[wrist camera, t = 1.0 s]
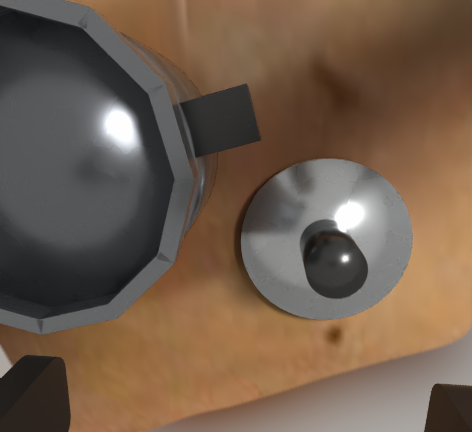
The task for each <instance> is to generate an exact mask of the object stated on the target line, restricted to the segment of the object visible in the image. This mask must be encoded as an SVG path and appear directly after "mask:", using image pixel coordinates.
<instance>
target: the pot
mask: <svg viewBox="0 0 472 432" xmlns="http://www.w3.org/2000/svg"><path fill="white" fill-rule="evenodd" d="M260 140H261V135H260V131H259V127H258V123H257V119H256V115H255V111H254V107H253V103H252V99H251V95H250V91H249V87H248V85H247V84H244V85H240V86H237V87H233V88H230V89H226V90H223V91H219V92H216V93H213V94H209V95H206V96H201V94H200V93H199V91H198V90H197V88H196V87H195V85H194V84H193V83H192V82H191V80H190V79H189V78H188V77H187V76H186V75H185V73H184V72H182V71H181V70H180V69H179V68H178V67H177V66H176V65H175V64H174V63H172V62H171V61H169V60H168V59H166V58H165V57H164V56H162V55H161V54H159V53H157V52H155V51H153V50H152V49H150V48H148V47H146V46H144V45H143V44H141V43H139V42H137V41H135V40H134V39H132V38H130V37H128V36H126V35H125V34H123V33H121V32H119V31H118V30H117V29H116V28H115V27H114V26H113V25H112V24H111V23H110V22H109V21H108V20H107V19H106V18H105V17H104V16H103V15H102V14H100V13H99V12H97V11H95V10H94V9H92V8H90V7H88V6H84V5H80V4H77V3H73V2H69V1H66V0H0V323H1V324H4V325H8V326H11V327H15V328H19V329H22V330H26V331H30V332H33V333H37V334H40V335H43V334H48V333H53V332H57V331H62V330H66V329H71V328H76V327H80V326H85V325H89V324H94V323H99V322H103V321H108V320H112V319H117V318H118V317H119V316H120V315H121V314H123V313H124V312H125V311H126V310H127V309H128V308H129V307H130V306H131V305H132V304H133V303H134V302H135V301H136V300H137V299H138V298H139V297H140V296H141V295H142V294H143V293H144V292H145V291H146V290H147V289H148V288H149V287H150V286H151V285H152V284H154V283H155V282H156V281H157V280H158V279H159V278H160V277H161V276H162V275H163V274H164V273H165V272H166V271H167V270H168V269H169V268H170V267H171V266H172V265H173V264H174V263H175V261H176V259H177V258H178V256H179V254H180V250H181V246H182V241H183V238H184V237H185V235H186V234H187V232H188V231H189V229H190V227H191V226H192V224H193V223H194V221H195V220H196V218H197V217H198V215H199V214H200V212H201V211H202V209H203V207H204V206H205V204H206V202H207V200H208V198H209V196H210V194H211V191H212V188H213V185H214V182H215V177H216V172H217V165H218V152H219V151H223V150H227V149H231V148H234V147H238V146H242V145H245V144H249V143H253V142H257V141H260Z"/></svg>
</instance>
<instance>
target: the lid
mask: <svg viewBox="0 0 472 432" xmlns="http://www.w3.org/2000/svg"><path fill="white" fill-rule="evenodd" d="M412 240H413V233H412V224H411V220H410V216H409V213H408V210H407V208H406V205H405V203H404V201H403V200H402V198H401V196H400V195H399V193H398V192H397V191H396V190H395V188H394V187H393V186H392V185H391V184H390V183H389V182H388V181H387V180H386V179H385V178H384V177H382V176H381V175H379V174H378V173H376V172H375V171H373V170H371V169H369V168H367V167H366V166H364V165H361V164H359V163H356V162H353V161H349V160H344V159H339V158H317V159H311V160H306V161H303V162H300V163H296V164H294V165H292V166H290V167H287V168H285V169H284V170H282V171H280V172H279V173H277V174H276V175H274V176H273V177H272V178H271V179H270V180H268V181H267V182H266V183H265V184H264V185H263V186H262V188H261V189H260V190H259V191H258V192H257V194H256V195H255V197H254V198H253V200H252V202H251V204H250V205H249V207H248V210H247V212H246V215H245V218H244V222H243V227H242V232H241V252H242V257H243V262H244V264H245V267H246V270H247V272H248V274H249V276H250V278H251V280H252V282H253V283H254V285H255V286H256V288H257V289H258V290H259V291H260V292H261V293H262V294H263V296H264V297H266V298H267V299H268V300H269V301H270V302H271V303H273V304H274V305H276V306H277V307H279V308H281V309H283V310H285V311H287V312H289V313H291V314H294V315H297V316H300V317H304V318H309V319H317V320H332V319H340V318H344V317H348V316H352V315H355V314H358V313H360V312H363V311H365V310H366V309H368V308H370V307H372V306H374V305H375V304H376V303H378V302H379V301H381V300H382V299H383V298H384V297H385V296H386V295H388V294H389V293H390V291H391V290H392V289H393V288H394V287H395V286H396V284H397V283H398V281H399V280H400V278H401V277H402V275H403V273H404V271H405V269H406V267H407V264H408V262H409V259H410V255H411V250H412Z"/></svg>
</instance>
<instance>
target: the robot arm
mask: <svg viewBox="0 0 472 432" xmlns="http://www.w3.org/2000/svg"><path fill="white" fill-rule="evenodd" d="M70 419H71V414H70V404H69V395H68V386H67V376H66V367H65V363H64V360H63V359H62V358H60V357H49V356H34V355H26V356H24V357H22V358H21V359H20V360H19V361H18V362H17V363H16V364H15V365H14V366H13V367H12V368H11V369H10V370H9V371H8V372H7V373H6V374H5V375H4V376H3V377H2V378H0V432H68V431H69V426H70ZM424 432H472V386H466V385H452V384H435V385H434V386H433V388H432V391H431V396H430V402H429V408H428V413H427V419H426V425H425V430H424Z"/></svg>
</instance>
